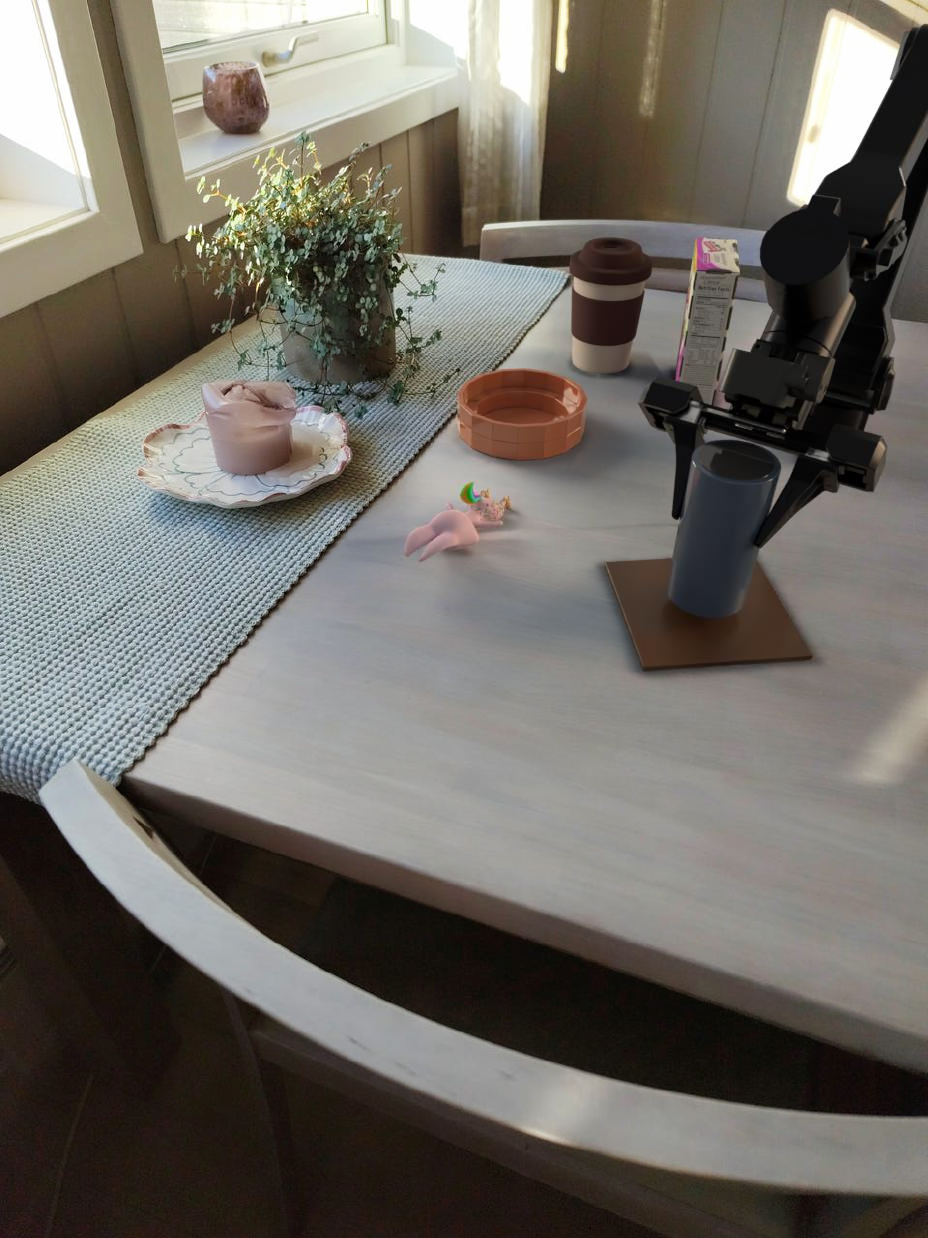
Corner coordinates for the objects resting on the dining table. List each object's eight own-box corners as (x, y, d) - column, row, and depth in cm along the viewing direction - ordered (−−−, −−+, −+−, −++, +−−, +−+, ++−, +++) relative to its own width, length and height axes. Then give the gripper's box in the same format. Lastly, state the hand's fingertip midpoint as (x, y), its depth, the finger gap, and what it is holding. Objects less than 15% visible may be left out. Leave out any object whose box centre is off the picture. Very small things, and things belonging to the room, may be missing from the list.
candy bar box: (673, 368, 112) (695, 235, 101) (712, 371, 111) (738, 238, 101) (671, 407, 104) (695, 267, 93) (714, 411, 103) (742, 270, 92)
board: (751, 557, 81) (752, 553, 80) (811, 659, 70) (813, 655, 70) (604, 566, 80) (604, 561, 79) (642, 671, 69) (643, 666, 69)
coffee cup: (619, 388, 108) (634, 264, 98) (548, 369, 112) (556, 249, 102) (650, 359, 114) (667, 241, 104) (582, 343, 118) (593, 227, 108)
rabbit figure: (470, 510, 89) (383, 563, 78) (475, 455, 86) (385, 503, 75) (522, 528, 87) (441, 586, 75) (530, 473, 83) (446, 525, 72)
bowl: (569, 401, 105) (572, 366, 102) (594, 460, 94) (598, 423, 91) (453, 406, 104) (452, 370, 101) (464, 466, 93) (464, 429, 90)
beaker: (675, 562, 77) (701, 432, 69) (750, 580, 75) (787, 447, 67) (658, 606, 72) (683, 472, 64) (738, 626, 70) (775, 490, 62)
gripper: (665, 273, 65) (582, 465, 65) (928, 329, 57) (831, 548, 57) (690, 340, 75) (617, 506, 75) (917, 395, 67) (834, 581, 67)
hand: (714, 532), depth 68 cm, fingers closed on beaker, 6 cm apart
